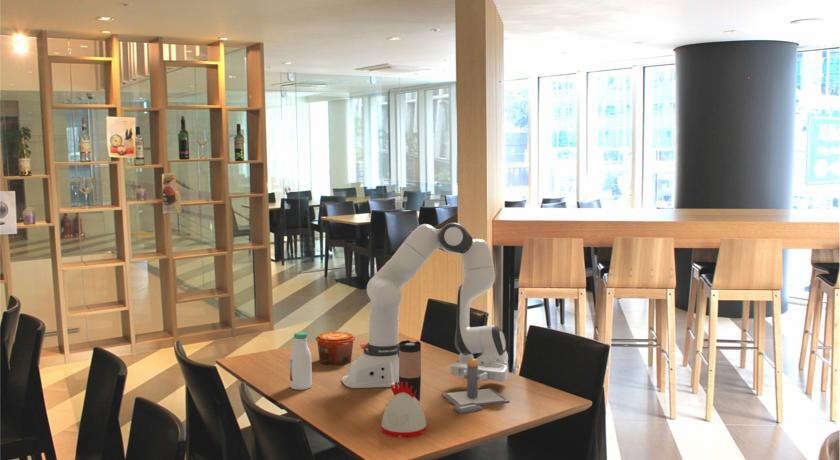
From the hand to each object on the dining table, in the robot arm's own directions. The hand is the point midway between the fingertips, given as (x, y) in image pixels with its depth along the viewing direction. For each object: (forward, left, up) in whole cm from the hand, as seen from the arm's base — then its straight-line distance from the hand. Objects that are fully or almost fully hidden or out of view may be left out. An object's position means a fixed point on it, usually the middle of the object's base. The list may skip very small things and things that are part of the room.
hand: (471, 377), depth 263 cm
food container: (-32, +66, -9) cm, 74 cm away
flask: (+19, +49, -9) cm, 53 cm away
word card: (-4, -7, -9) cm, 12 cm away
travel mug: (-19, +9, -9) cm, 23 cm away
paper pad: (+3, +3, -9) cm, 9 cm away
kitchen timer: (-30, -18, -9) cm, 37 cm away
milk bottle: (-52, +35, -9) cm, 63 cm away
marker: (+1, +1, -7) cm, 7 cm away
